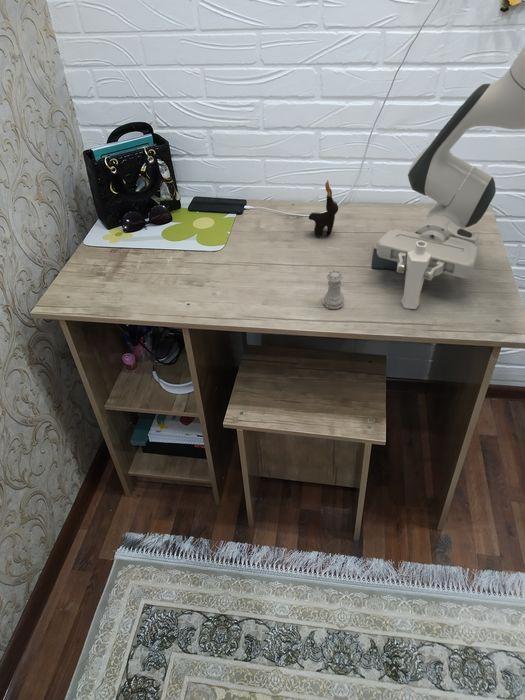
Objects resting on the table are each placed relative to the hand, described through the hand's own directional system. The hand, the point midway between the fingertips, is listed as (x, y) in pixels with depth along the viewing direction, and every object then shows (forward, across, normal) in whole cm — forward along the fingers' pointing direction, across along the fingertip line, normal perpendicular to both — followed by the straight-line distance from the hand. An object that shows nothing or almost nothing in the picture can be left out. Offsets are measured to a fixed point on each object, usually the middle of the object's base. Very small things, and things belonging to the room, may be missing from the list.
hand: (414, 273), depth 115 cm
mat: (-15, -9, +9) cm, 19 cm away
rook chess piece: (+6, -15, +9) cm, 18 cm away
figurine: (-19, -29, +9) cm, 36 cm away
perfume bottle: (-1, 0, +9) cm, 9 cm away
